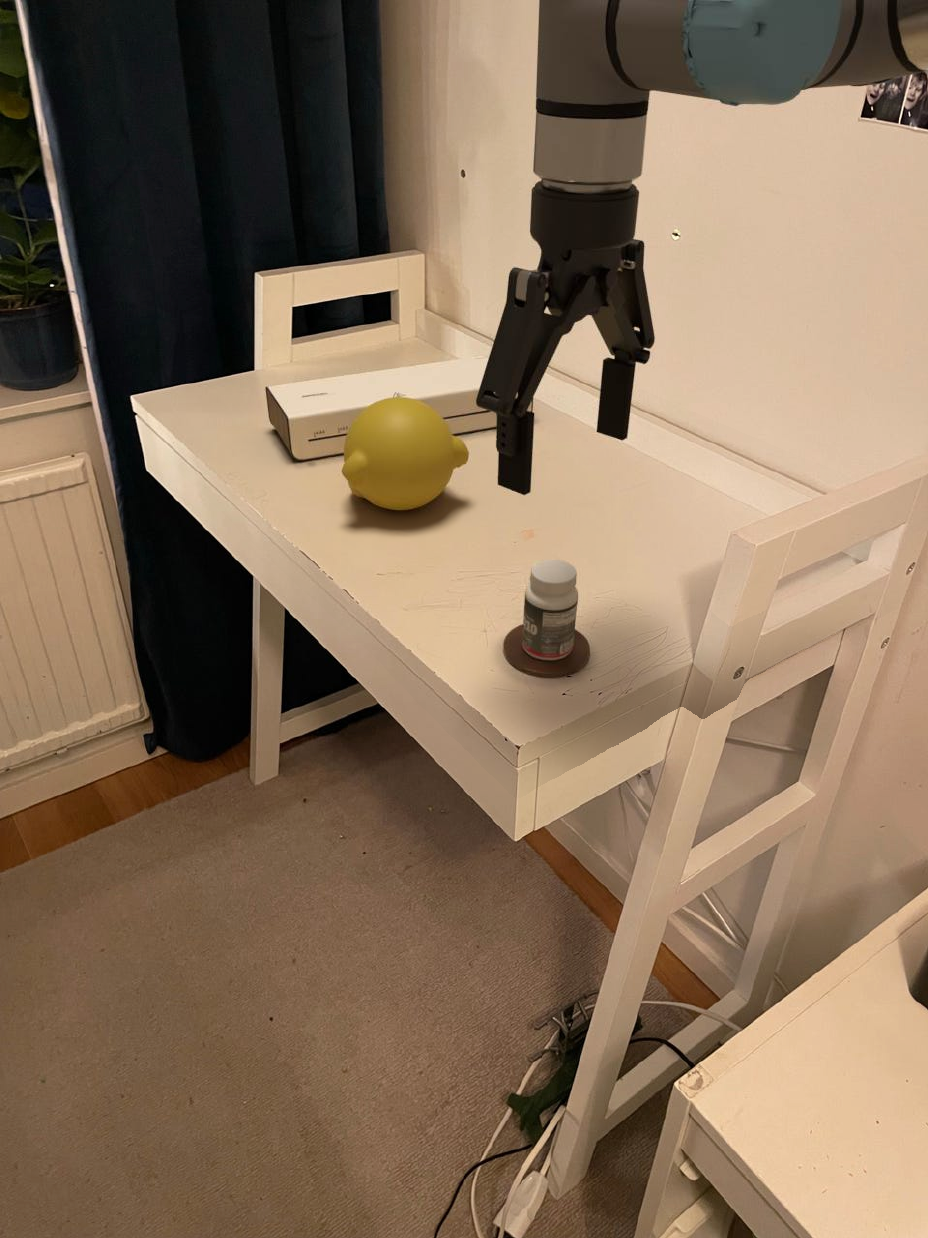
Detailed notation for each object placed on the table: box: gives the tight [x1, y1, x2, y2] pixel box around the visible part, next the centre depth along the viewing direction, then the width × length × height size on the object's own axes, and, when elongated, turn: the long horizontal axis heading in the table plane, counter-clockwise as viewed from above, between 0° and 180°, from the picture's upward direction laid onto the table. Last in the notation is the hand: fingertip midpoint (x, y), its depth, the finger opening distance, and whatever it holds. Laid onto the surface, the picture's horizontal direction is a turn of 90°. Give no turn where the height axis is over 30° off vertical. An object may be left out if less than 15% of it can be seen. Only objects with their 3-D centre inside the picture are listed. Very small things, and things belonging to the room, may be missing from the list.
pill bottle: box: [522, 558, 579, 660], centre depth 84 cm, size 5×5×8 cm
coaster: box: [502, 624, 591, 678], centre depth 87 cm, size 8×8×1 cm
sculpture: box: [341, 397, 470, 511], centre depth 106 cm, size 15×13×13 cm
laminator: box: [264, 354, 534, 462], centre depth 126 cm, size 34×12×6 cm, turn 113°
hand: (565, 460), depth 77 cm, fingers open, 13 cm apart
